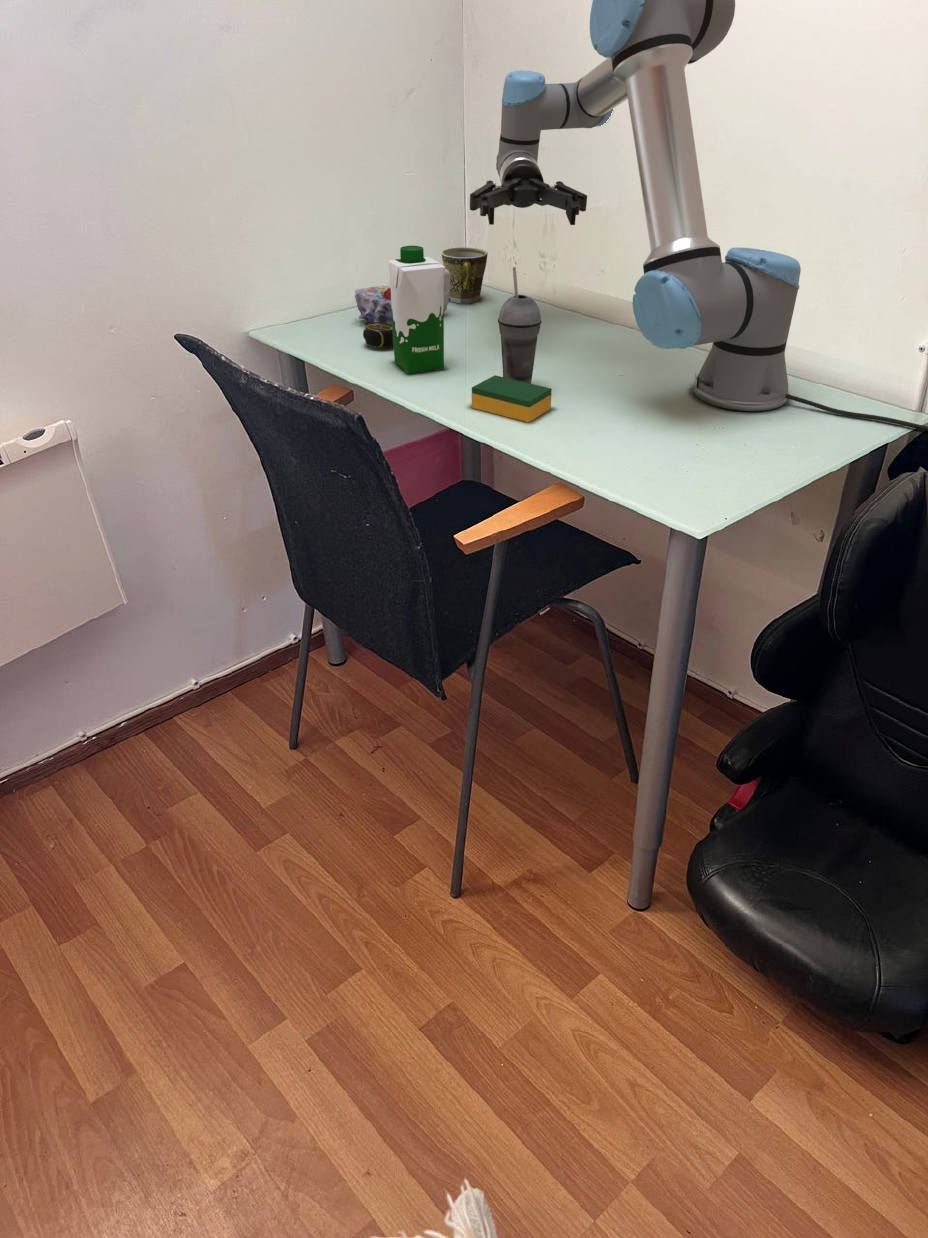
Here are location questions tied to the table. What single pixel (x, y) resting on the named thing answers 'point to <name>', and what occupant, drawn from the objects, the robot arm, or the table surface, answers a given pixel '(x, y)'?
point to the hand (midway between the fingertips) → (532, 216)
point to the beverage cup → (519, 335)
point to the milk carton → (417, 311)
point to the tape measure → (378, 335)
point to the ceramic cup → (465, 273)
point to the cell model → (386, 301)
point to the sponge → (511, 398)
